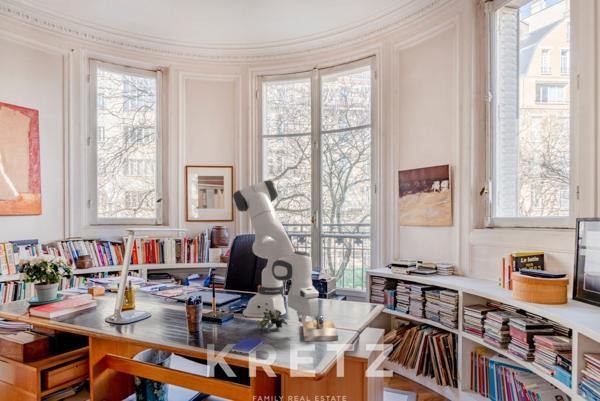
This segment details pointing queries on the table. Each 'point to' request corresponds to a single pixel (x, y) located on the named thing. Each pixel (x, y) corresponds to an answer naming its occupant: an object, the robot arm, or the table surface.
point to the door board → (319, 331)
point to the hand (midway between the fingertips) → (301, 322)
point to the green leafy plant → (272, 319)
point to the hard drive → (246, 345)
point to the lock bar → (320, 320)
